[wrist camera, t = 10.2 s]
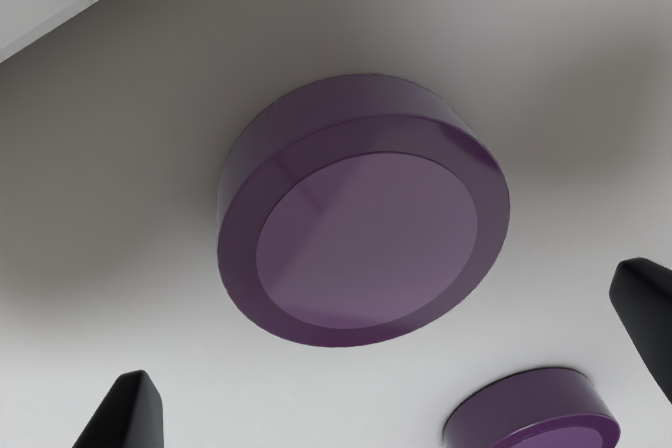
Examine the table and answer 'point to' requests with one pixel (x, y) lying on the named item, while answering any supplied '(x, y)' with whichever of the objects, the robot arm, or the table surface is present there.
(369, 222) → the top dish
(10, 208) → the table surface
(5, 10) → the plate
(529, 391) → the bottom dish
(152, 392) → the robot arm
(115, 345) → the table surface
